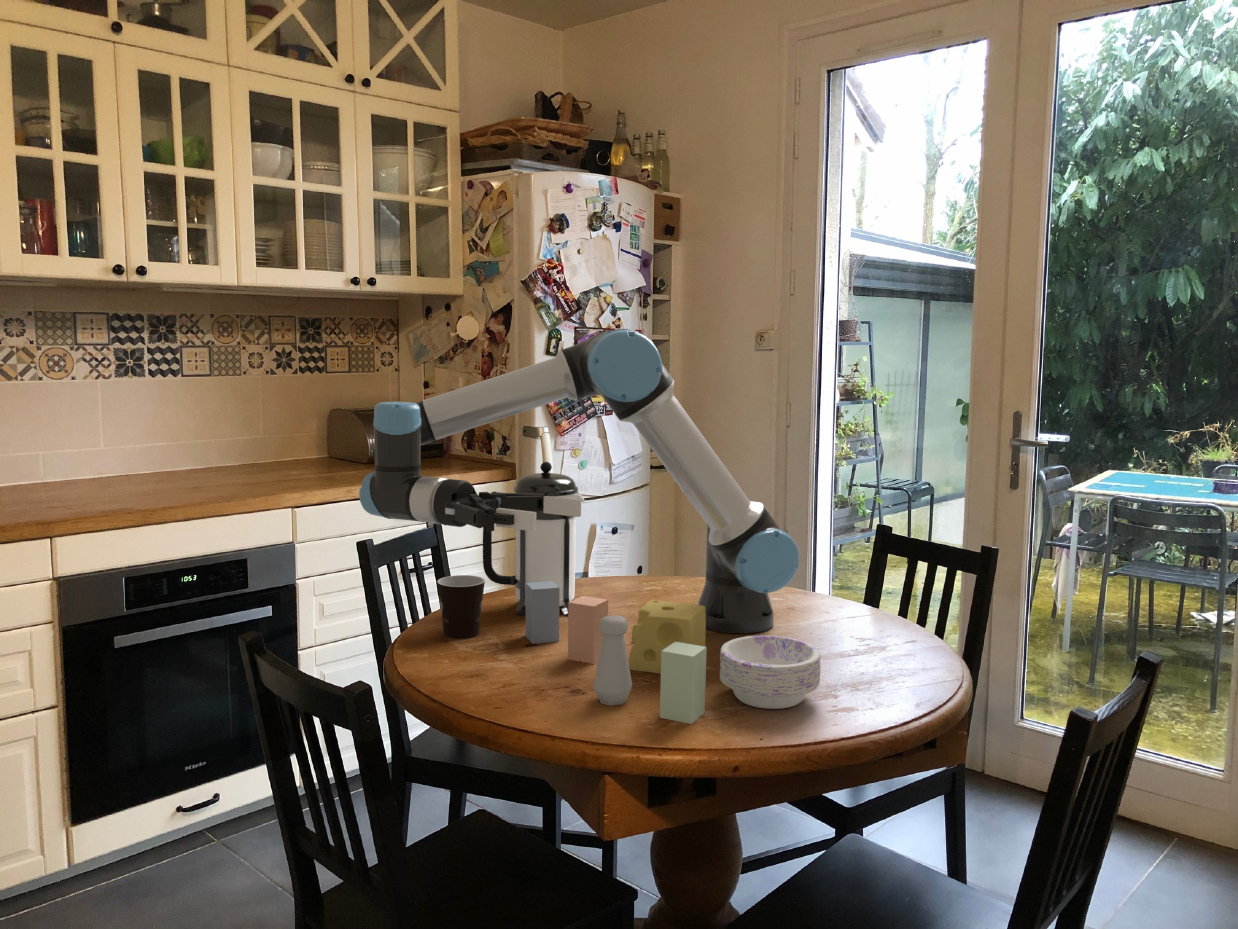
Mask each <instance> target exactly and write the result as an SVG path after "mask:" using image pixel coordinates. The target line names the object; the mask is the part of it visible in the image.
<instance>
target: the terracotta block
mask: <svg viewBox="0 0 1238 929" xmlns="http://www.w3.org/2000/svg"><path fill="white" fill-rule="evenodd" d="M605 616H609V599H606V598H599V597H595V596H594V597H593V596H587V595H581V596H580V597H579V596H578V597H577V598H575V599H573V601H571V602H568V615H567V618H568V620H567V621H568V622H567V623H568V625H567V626H568V627H567V630H568V632H567V634H568V635H567V660H569V659H571V660H570V661H575V662H579V661H581V663H585V662H587V663H586V664H591V665H595V664H596V663H598V661H599V655H600V649H601V644H602V638H603V634H602V633H601V632H600V630H599V623H600V620H601V619H602V618H603V617H605Z"/></svg>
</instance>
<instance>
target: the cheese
mask: <svg viewBox="0 0 1238 929" xmlns="http://www.w3.org/2000/svg"><path fill="white" fill-rule="evenodd" d="M637 618H638V619H637V622H636V623H634V625H633V627H632V628H631V641H632V644H633V645H632V647H631V649H630V651H629V657H628V658H629V659H628V663H629V669H630V671H635V672H643V673H644V672H645V673H651V674H659V675H661V651H662V650H664V649H665V648H667V647H668V646H670V645H671V644H673V643H674V642H680V643H686V644H692V645H698V646H704V647H706V630H707V628H706V613H705V606H701V605H698V604H694V603H693V604H692V603H682V602H681V603H679V602H672V601H664V600H658V599H651V600H649V601H648V602H646V603H645V604H643V606H640V608H639V610H638V617H637Z"/></svg>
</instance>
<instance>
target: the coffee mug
mask: <svg viewBox="0 0 1238 929" xmlns="http://www.w3.org/2000/svg"><path fill="white" fill-rule="evenodd" d="M436 582H437V591H438V597H439V606H440V613H441V622H442V630H443V635H444V636H445V638H450V639H455V640H463V639H464V640H465V639H471V638H475V637H477V636H478V635H479V634H480V626H481V618H482V609H483V599H484V591H485V582H486V579H485V578H484V577H481V576H477V575H470V574H469V575H467V574H466V575H464V574H462V575H461V574H459V575H458V574H457V575H450V576H444V577H441V578H439V579H437V581H436Z"/></svg>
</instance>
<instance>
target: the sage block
mask: <svg viewBox="0 0 1238 929" xmlns="http://www.w3.org/2000/svg"><path fill="white" fill-rule="evenodd" d="M707 650H708V649H707V646H705V647H704V646H698V645H692V644H686V643H680V642H674V643H673V644H671V645H670V646H668V647H667V648H665V649H664V650H662V651H661V674H660V690H659V691H660V694H659V699H660V700H659V718H661V719H666V720H671V721H674V722H679V723H684V724H690V725H692V724H694V723H695V722H696V721H697V720H698V719H699V718H700V717H702V715H703V714H705V710H706V709H705V708H706V707H705V706H706V681H707V680H706V677H707Z"/></svg>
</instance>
